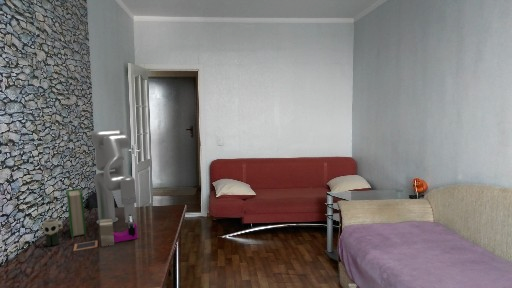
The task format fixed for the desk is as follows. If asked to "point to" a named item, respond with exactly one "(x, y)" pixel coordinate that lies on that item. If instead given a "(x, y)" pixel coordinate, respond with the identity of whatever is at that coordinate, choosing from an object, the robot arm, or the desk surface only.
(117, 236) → the toy block
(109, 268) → the desk surface
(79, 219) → the hardback book
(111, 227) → the tunnel
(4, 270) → the desk surface
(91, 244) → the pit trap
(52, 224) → the character mug
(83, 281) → the desk surface
